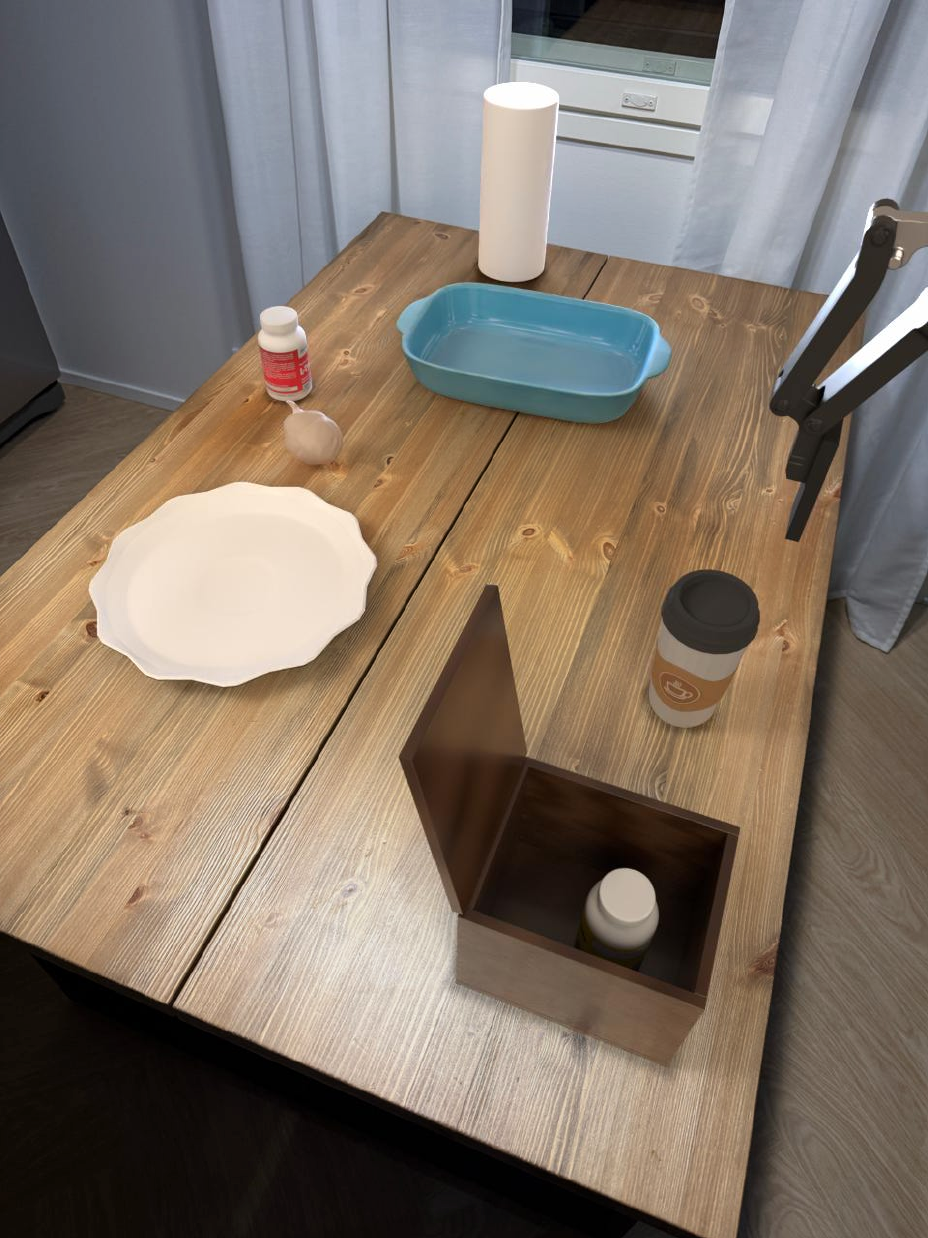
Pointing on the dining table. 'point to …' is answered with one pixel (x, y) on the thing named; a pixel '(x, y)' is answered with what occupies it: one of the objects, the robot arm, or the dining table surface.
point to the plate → (232, 584)
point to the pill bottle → (284, 354)
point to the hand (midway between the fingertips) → (889, 548)
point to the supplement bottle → (619, 918)
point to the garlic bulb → (311, 436)
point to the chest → (555, 898)
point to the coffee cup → (700, 644)
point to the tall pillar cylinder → (516, 179)
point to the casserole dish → (532, 351)
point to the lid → (467, 750)
